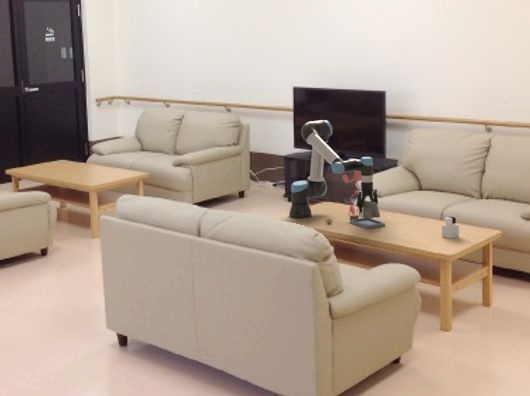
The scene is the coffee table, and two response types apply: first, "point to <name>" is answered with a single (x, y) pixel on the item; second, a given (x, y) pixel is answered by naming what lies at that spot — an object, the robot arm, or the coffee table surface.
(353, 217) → the walnut cube
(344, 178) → the figurine
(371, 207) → the digital clock
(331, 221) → the terracotta ball
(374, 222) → the tray
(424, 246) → the coffee table surface
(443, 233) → the medicine bottle
